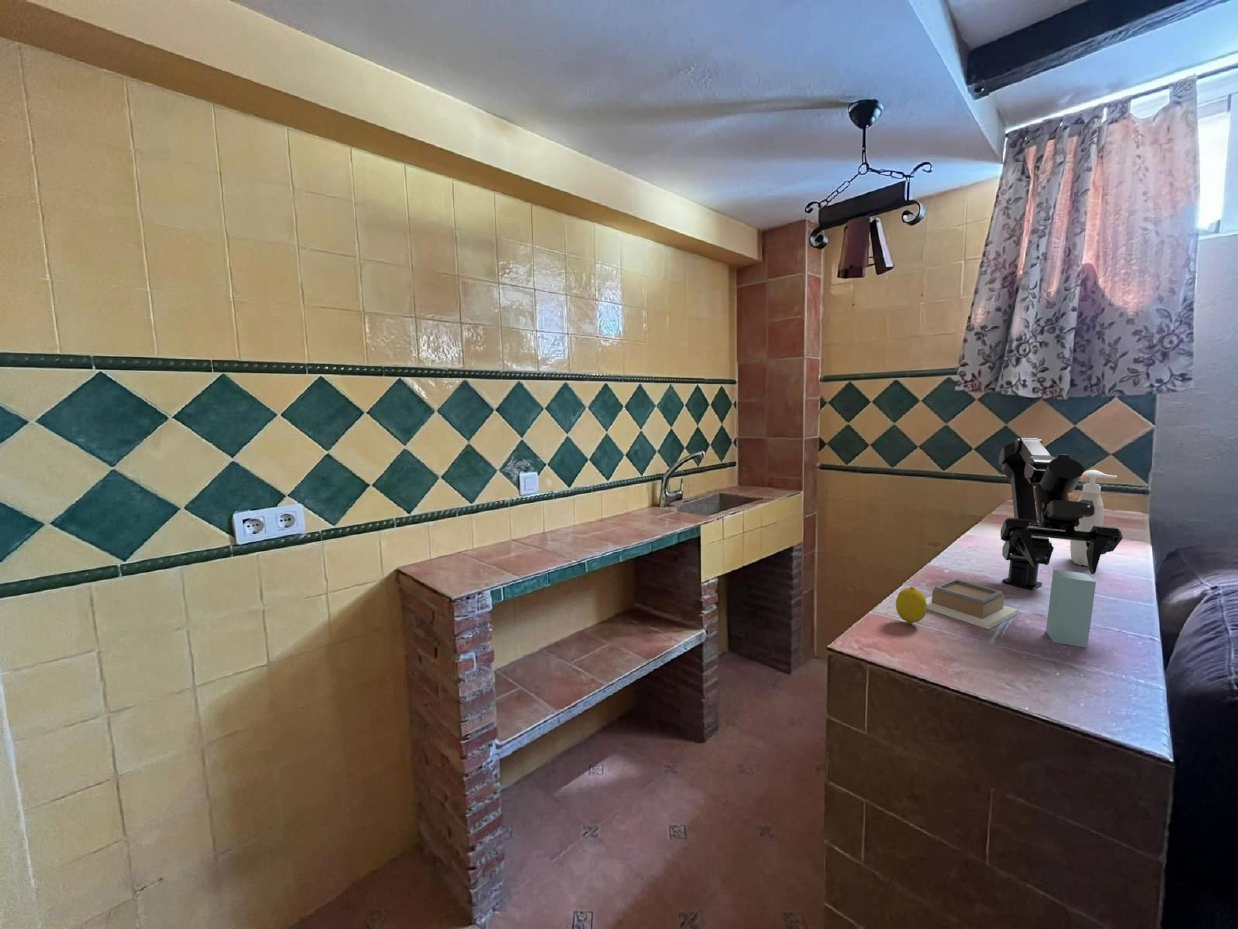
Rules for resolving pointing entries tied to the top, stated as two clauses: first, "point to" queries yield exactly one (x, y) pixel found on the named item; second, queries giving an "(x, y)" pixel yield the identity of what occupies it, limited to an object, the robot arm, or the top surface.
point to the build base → (974, 619)
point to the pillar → (1070, 608)
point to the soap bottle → (1086, 523)
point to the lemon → (911, 605)
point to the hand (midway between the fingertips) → (1063, 569)
